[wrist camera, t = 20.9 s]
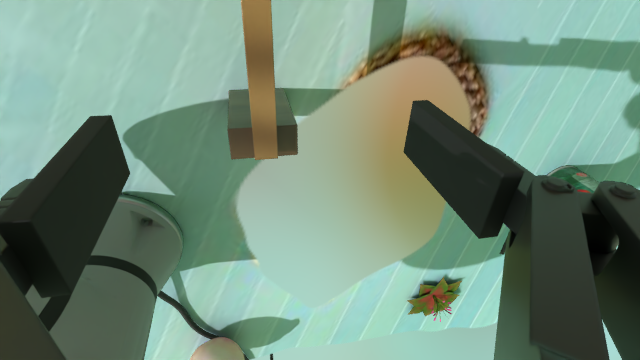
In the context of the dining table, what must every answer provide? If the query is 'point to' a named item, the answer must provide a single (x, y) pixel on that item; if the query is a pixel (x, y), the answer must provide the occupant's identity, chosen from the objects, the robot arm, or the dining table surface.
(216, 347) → the decorative fruit
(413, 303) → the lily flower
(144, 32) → the dining table surface
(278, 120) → the dark upright slab
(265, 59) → the ladle
